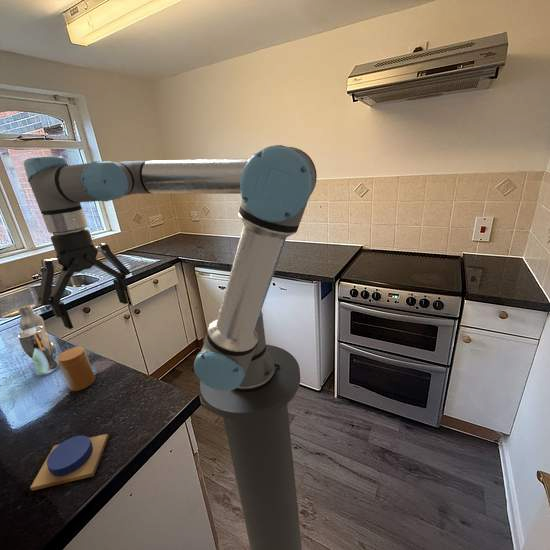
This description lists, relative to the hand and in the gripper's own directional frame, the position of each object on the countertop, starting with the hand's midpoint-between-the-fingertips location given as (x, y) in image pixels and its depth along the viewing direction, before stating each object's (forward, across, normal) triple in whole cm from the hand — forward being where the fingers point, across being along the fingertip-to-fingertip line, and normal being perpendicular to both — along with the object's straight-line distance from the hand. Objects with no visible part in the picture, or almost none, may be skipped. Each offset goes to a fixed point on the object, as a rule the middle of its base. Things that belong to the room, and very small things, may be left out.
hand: (98, 314), depth 75 cm
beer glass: (+27, +6, -38) cm, 47 cm away
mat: (+27, +18, +8) cm, 33 cm away
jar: (+27, +4, -19) cm, 33 cm away
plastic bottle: (+27, +4, -46) cm, 53 cm away
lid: (+24, +18, +8) cm, 31 cm away
